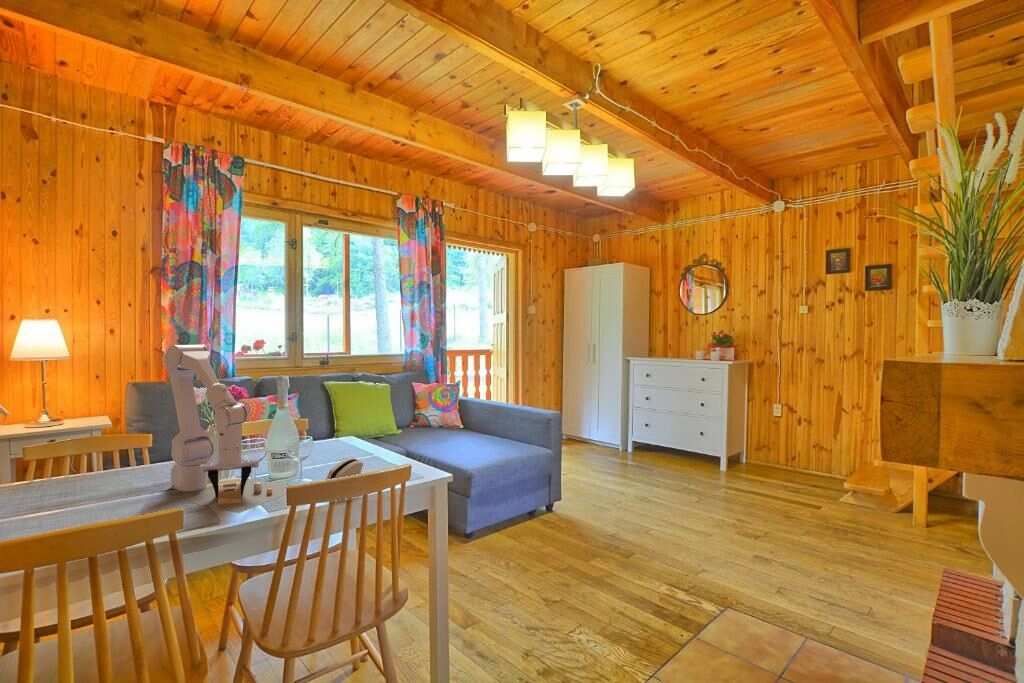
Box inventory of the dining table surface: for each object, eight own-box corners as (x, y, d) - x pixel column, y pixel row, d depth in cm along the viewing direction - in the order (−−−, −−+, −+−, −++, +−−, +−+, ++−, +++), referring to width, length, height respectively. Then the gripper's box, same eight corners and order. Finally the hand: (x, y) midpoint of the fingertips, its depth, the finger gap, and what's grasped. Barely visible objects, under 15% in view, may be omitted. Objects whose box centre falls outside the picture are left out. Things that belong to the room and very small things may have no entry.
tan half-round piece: (344, 478, 165) (354, 451, 164) (356, 484, 164) (367, 457, 163) (315, 495, 148) (326, 464, 147) (328, 501, 148) (340, 471, 147)
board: (179, 505, 137) (180, 491, 137) (247, 483, 157) (247, 470, 157) (239, 518, 129) (239, 503, 129) (302, 493, 150) (302, 480, 150)
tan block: (219, 489, 146) (219, 479, 146) (240, 487, 148) (240, 477, 148) (217, 505, 134) (218, 494, 134) (240, 502, 136) (240, 491, 136)
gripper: (199, 453, 134) (198, 503, 134) (259, 448, 141) (258, 495, 141) (200, 447, 140) (200, 495, 140) (258, 442, 147) (257, 488, 147)
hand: (229, 494), depth 141 cm, fingers closed on tan block, 5 cm apart
